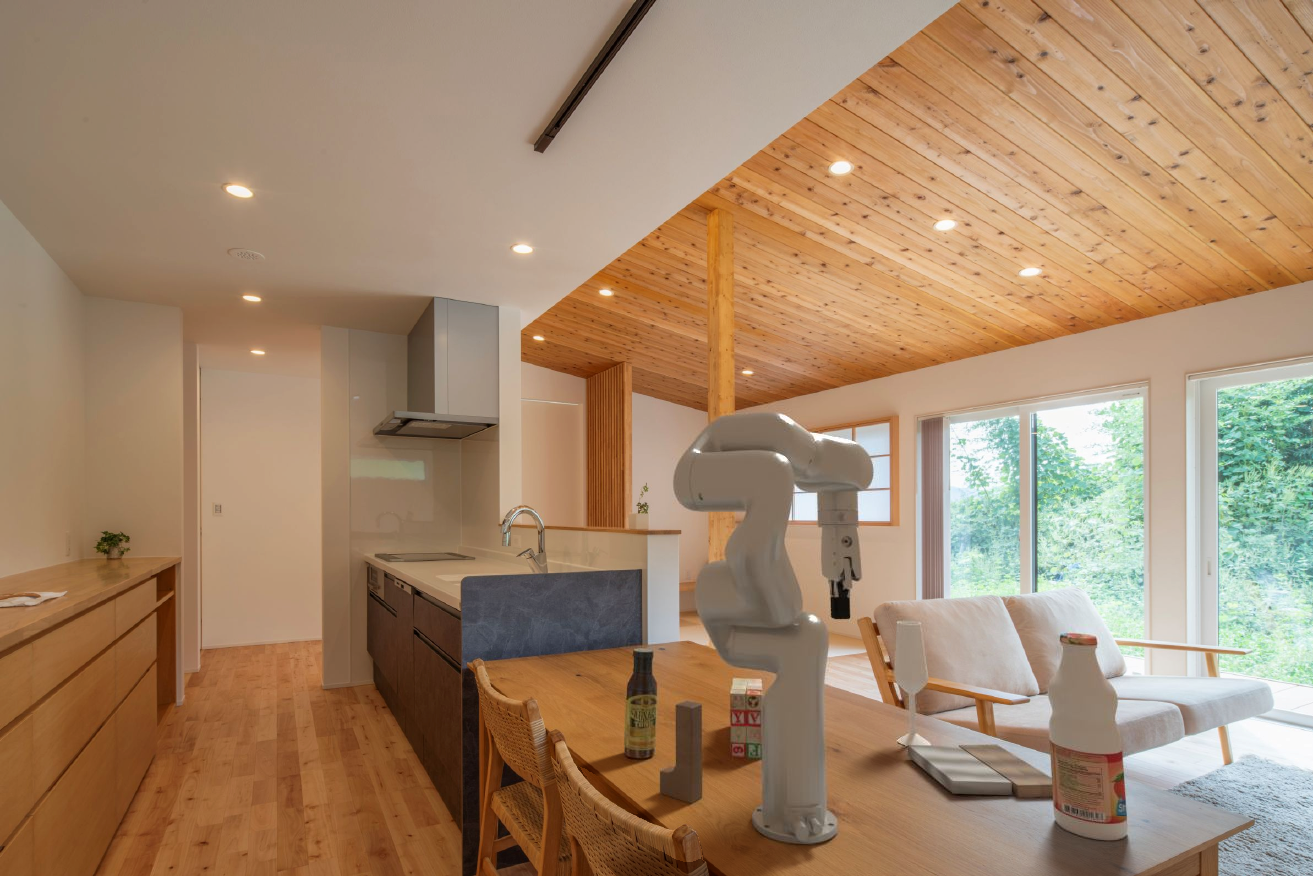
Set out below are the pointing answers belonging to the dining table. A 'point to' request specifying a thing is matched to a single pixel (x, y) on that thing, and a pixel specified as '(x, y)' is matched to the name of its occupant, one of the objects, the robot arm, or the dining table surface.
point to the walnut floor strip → (1013, 770)
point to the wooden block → (685, 756)
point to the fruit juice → (1085, 745)
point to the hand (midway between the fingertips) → (840, 618)
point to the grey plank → (959, 770)
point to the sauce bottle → (641, 707)
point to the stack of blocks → (745, 718)
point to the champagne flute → (910, 671)
